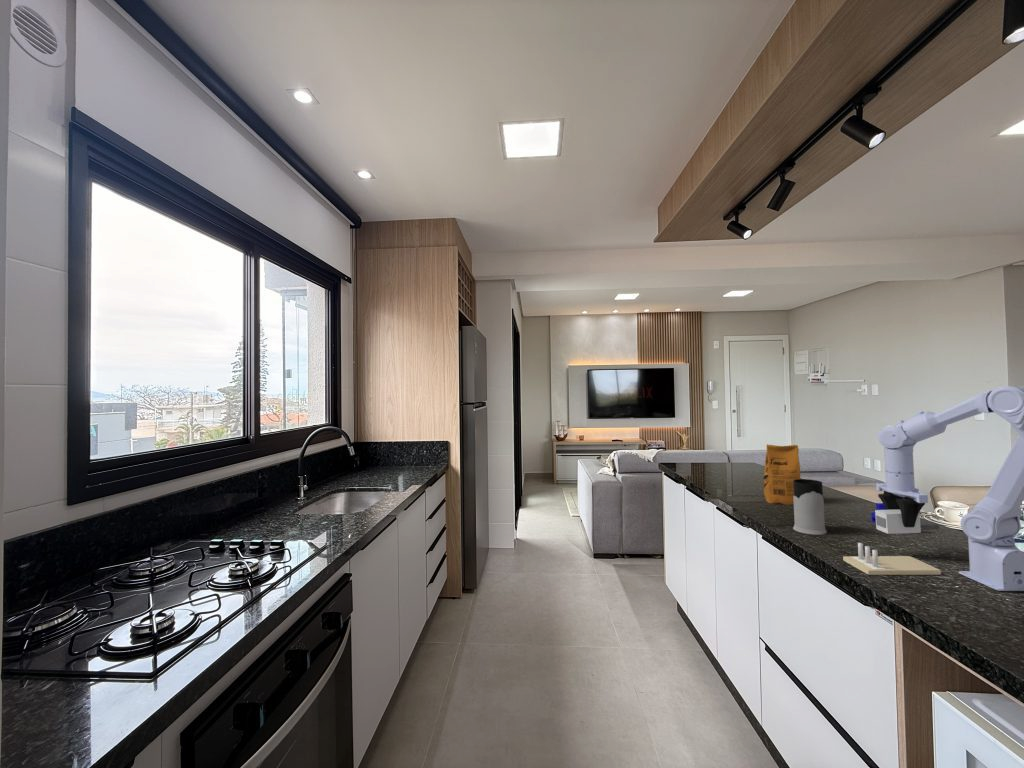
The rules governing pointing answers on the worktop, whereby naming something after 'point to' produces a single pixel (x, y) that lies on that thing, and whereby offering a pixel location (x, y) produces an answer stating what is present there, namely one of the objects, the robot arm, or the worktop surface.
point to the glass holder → (809, 507)
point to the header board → (889, 564)
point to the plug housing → (898, 523)
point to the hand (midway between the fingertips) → (902, 524)
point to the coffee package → (781, 473)
